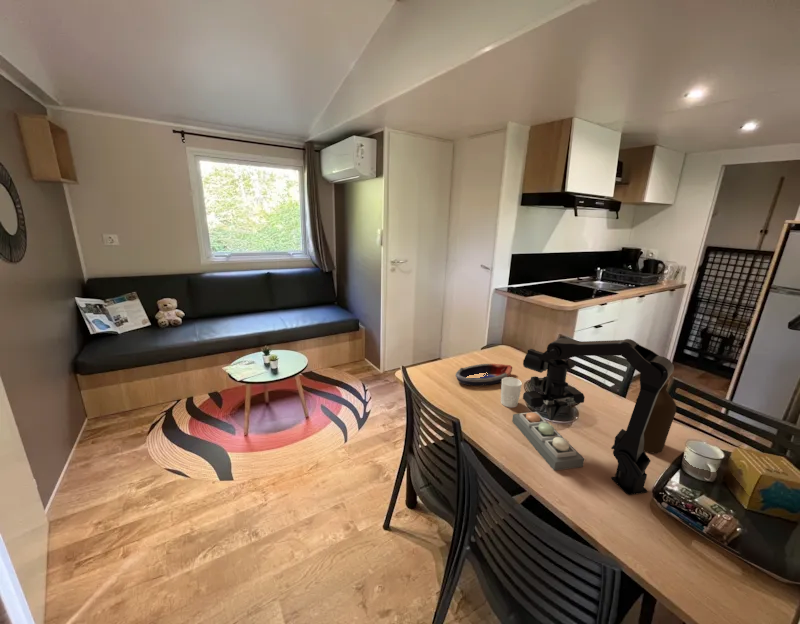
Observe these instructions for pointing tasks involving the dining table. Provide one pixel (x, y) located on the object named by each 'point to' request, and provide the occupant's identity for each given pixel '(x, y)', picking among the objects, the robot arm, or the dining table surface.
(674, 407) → the olive oil
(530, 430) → the button panel
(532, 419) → the terracotta button
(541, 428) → the sage button
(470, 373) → the dish
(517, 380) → the white cup
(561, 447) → the cream button
